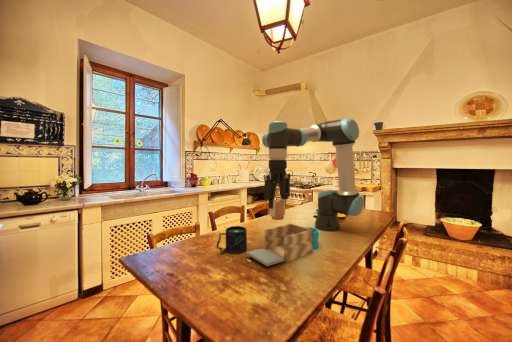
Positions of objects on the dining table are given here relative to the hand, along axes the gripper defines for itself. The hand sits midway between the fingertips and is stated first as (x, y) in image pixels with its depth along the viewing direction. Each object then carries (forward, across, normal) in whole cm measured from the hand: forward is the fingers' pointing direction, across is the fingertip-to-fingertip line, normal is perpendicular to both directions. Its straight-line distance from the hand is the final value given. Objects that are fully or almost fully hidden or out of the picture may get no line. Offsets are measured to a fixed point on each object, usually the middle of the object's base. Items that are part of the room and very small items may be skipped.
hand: (277, 215), depth 96 cm
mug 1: (+20, +9, -22) cm, 31 cm away
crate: (+19, -10, -3) cm, 22 cm away
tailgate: (+18, -1, -3) cm, 18 cm away
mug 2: (+19, -25, -2) cm, 32 cm away
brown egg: (+1, 0, 0) cm, 1 cm away
